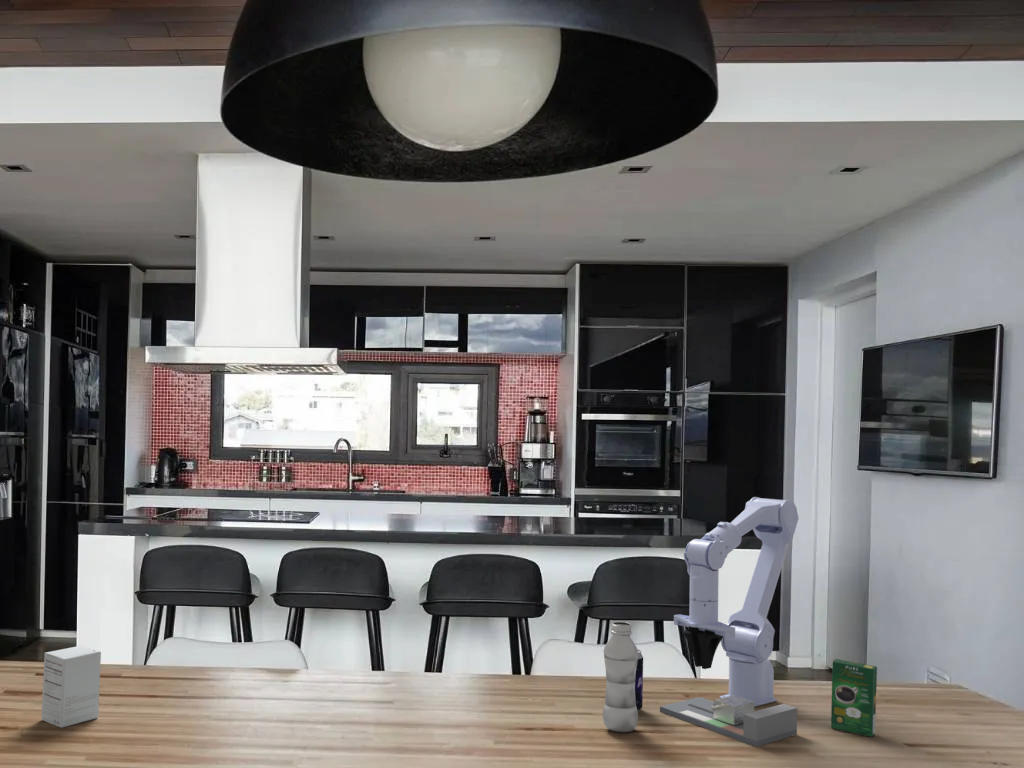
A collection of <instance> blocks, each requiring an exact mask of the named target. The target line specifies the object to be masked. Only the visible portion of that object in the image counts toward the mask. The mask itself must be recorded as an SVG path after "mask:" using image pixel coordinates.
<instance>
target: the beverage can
mask: <svg viewBox="0 0 1024 768" xmlns="http://www.w3.org/2000/svg"><path fill="white" fill-rule="evenodd" d="M637 650H638V658H637V659H638V660H637V667H636V675H635V698H636V707H637V712H638V713H639V711H640V710H642V709H643V704H644V703H643V697H644V696H643V692H644V689H643V688H644V657H643V654H642V650H641V649H638V648H637Z"/></svg>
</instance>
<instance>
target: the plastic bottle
mask: <svg viewBox="0 0 1024 768" xmlns="http://www.w3.org/2000/svg"><path fill="white" fill-rule="evenodd" d="M610 634H612V635H611V637H610V638H609V639H608V640H607V642H606V644H605V645H604V649H603V659H604V668H605V679H606V688H605V699H604V705H603V709H602V720H603V725H604V727H605V728H606V729H608V730H610V731H612V732H618V733H629V732H633V731H634V730H635V729H636V727H637V726H638V719H639V712H637V707H636V698H635V675H636V667H637V660H638V659H637V658H638V650H637V649H638V648H637V645H636V644H635V642H634V640H633V638H632V637H631V635H632V634H633V631H632V623H630V622H627V621H626V622H625V621H613V622H612V623H611V630H610Z"/></svg>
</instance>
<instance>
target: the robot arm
mask: <svg viewBox="0 0 1024 768" xmlns="http://www.w3.org/2000/svg"><path fill="white" fill-rule="evenodd" d="M798 522H799V514H798V508H797V506H796V504H795V502H794V501H793V500H791V499H777V498H776V499H775V498H761V497H758V496H753V497H752V498H751V499H750V500H748V501H747V502H745V507H744V510H743V511H742V512H740V514H738V515H737V516H736V517H735V518H734V519H733V520H731V522H728V521H719V522H718V523H717V526H716V527H715V528H713V529H712V530H711V531H709V532H706V533H705V534H704V536H703V537H701V538H700V539H699V538H694V539H692V540H691V541H689V542H687V545H686V547H685V550H684V552H683V559H684V562H685V564H686V567H687V574H688V575H689V610H688V611H689V615H686V614H685V615H684V614H681V613H680V614H674V615H673V625H675V626H682V627H687V628H688V629H687V630H684V631H683V635H684V637H685V638H686V641H687V643H688V645H689V648H690V650H691V651H690V652H691V655H692V659H693V663H694V667H696V668H700V667H701V669H703V670H707V669H712V665H713V661H714V657H715V654H716V652H717V649H718V647H719V645H720V644H721V647H722V650H723V651H724V652H725V654H726V655H725V657H728V662H729V663H728V694H723V695H720V696H719V699H720V698H724V697H728V696H732V695H735V696H738V697H741V698H744V699H747V700H751V701H754V708H756V707H757V706H762V705H767V704H770V703H773V702H777V701H778V699H777V698H776V697H774V689H775V688H774V687H775V685H774V683H775V681H774V680H775V679H774V678H775V676H774V675H775V674H774V667H773V663H772V662H771V661H770V660H769V657H770V656H771V654H772V652H773V650H774V649H773V648H774V637H775V632H776V630H775V628H774V626H773V625H772V623H771V622H770V621H769V619H768V614H769V610H770V606H771V604H772V600H773V597H774V595H775V590H776V587H777V585H778V584H777V583H778V580H779V577H780V575H781V571H782V567H783V564H784V561H785V558H786V555H787V551H788V548H789V544H790V542H792V541H793V538H794V536H795V532H796V528H797V525H798ZM750 531H753V533H754V535H755V536H756V537H757V538H758V539H759V540H761V542H762V543H761V544H762V545H761V548H760V552H759V554H758V557H757V562H756V563H755V567H754V570H753V574H752V577H751V579H750V583H749V586H748V588H747V592H746V597H745V599H744V601H743V605H742V608H741V609H740V610H738V611H736V612H734V613H732V614H731V615H730V616H729V618H728V621H727V623H723V622H721V621H719V573H720V572H719V570H720V569H722V568H723V566H724V564H725V561H726V558H727V557H728V555H729V554H730V553H731V552H732V551H734V550H735V549H737V547H739V545H741V543H742V536H744V535H746V534H748V533H749V532H750Z"/></svg>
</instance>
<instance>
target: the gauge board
mask: <svg viewBox="0 0 1024 768" xmlns="http://www.w3.org/2000/svg"><path fill="white" fill-rule="evenodd" d="M712 706H714V700H709V699H707V698H704V697H701V696H698V697H694V698H689V699H686V700H681V701H676V702H673V703H668V704H664V705H660V706H659V712H660V713H662V714H666V715H669V716H671V717H674V718H677V719H679V720H683V721H685V722H688V723H691V724H693V725H696V726H699V727H701V728H704V729H707V730H710V731H712V732H715V733H718V734H721V735H723V736H726V737H729V738H731V739H734V740H737V741H740V742H743V743H745V744H747V745H751V746H753V747H756V748H758V747H761V746H764V745H768V744H771V743H775V742H777V741H776V740H778V741H781V740H784V739H787V738H786V737H788V738H790V737H789V736H791V737H793V736H792V735H794V736H797V735H798V707H796V706H792V705H789V704H787V703H782V704H778V705H773V706H770V707H767V708H762V709H759V710H754V712H751V713H747V714H744V723H741V724H737V725H731V724H728V723H726V722H723V721H720V720H717V719H714V718H713V717H714V711H711V710H710V707H712ZM796 734H797V735H796ZM783 738H784V739H783ZM780 739H781V740H780Z"/></svg>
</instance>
